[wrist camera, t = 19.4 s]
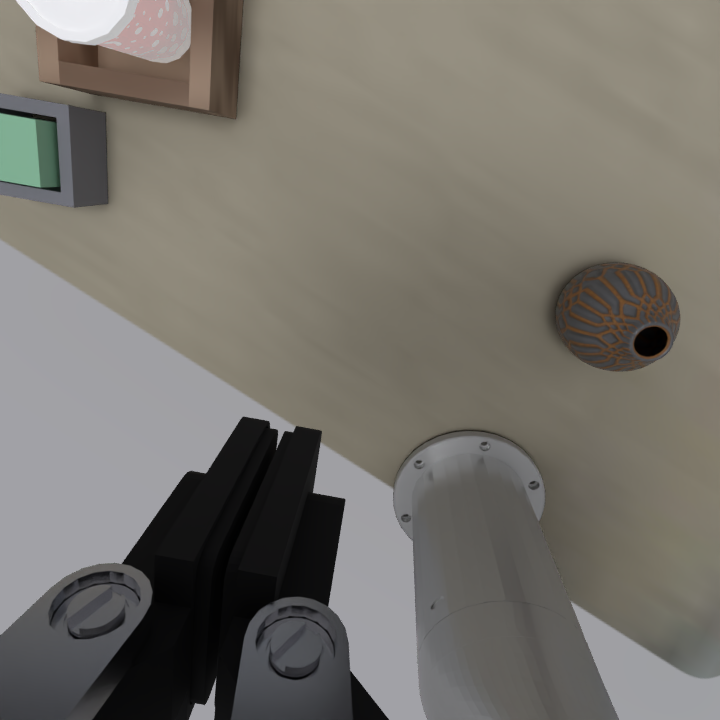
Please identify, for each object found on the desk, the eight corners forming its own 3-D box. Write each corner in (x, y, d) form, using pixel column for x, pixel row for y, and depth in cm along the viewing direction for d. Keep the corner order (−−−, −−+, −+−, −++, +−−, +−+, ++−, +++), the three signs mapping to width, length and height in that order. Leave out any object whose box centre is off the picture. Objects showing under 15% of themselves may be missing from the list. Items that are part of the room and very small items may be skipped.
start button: (88, 185, 35) (40, 187, 30) (36, 176, 35) (-20, 177, 30) (86, 126, 33) (35, 119, 29) (31, 117, 33) (-28, 108, 29)
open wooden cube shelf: (236, 118, 33) (209, 110, 28) (90, 93, 33) (39, 80, 28) (247, -65, 29) (218, -110, 24) (83, -93, 29) (23, -143, 25)
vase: (528, 329, 37) (565, 374, 28) (573, 241, 34) (628, 263, 26) (612, 360, 37) (672, 413, 29) (663, 275, 34) (745, 307, 26)
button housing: (108, 203, 35) (73, 207, 32) (27, 189, 35) (-17, 191, 32) (105, 112, 33) (68, 105, 30) (19, 97, 33) (-29, 88, 30)
